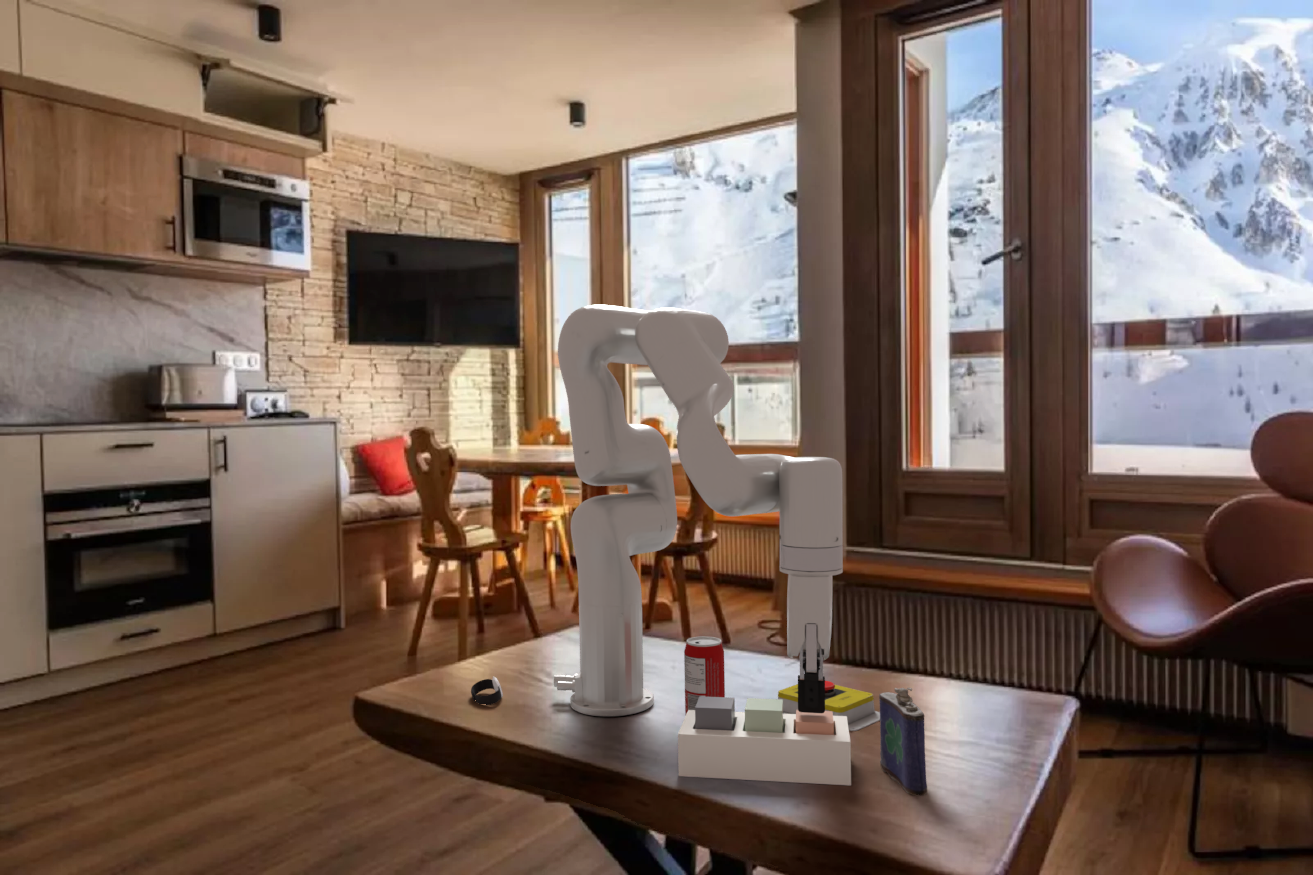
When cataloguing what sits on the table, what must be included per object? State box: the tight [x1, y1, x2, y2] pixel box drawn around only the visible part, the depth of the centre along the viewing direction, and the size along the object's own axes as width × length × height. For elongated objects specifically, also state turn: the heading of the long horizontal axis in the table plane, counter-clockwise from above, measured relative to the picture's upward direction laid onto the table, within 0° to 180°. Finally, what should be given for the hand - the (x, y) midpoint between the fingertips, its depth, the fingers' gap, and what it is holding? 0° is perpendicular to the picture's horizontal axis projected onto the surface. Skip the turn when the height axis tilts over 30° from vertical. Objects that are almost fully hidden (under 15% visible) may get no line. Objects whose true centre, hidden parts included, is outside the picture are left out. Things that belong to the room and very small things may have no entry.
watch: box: [470, 676, 504, 706], centre depth 132 cm, size 8×5×4 cm, turn 26°
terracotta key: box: [796, 710, 834, 735], centre depth 102 cm, size 4×4×4 cm
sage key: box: [744, 697, 784, 733], centre depth 103 cm, size 4×4×4 cm
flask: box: [878, 687, 928, 796], centre depth 99 cm, size 9×3×11 cm, turn 8°
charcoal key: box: [695, 696, 736, 731], centre depth 104 cm, size 4×4×4 cm
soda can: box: [683, 636, 726, 716], centre depth 119 cm, size 6×6×12 cm
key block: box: [677, 710, 852, 786], centre depth 103 cm, size 20×9×5 cm, turn 80°
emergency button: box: [777, 680, 880, 732], centre depth 123 cm, size 9×4×15 cm
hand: (811, 710), depth 103 cm, fingers closed
